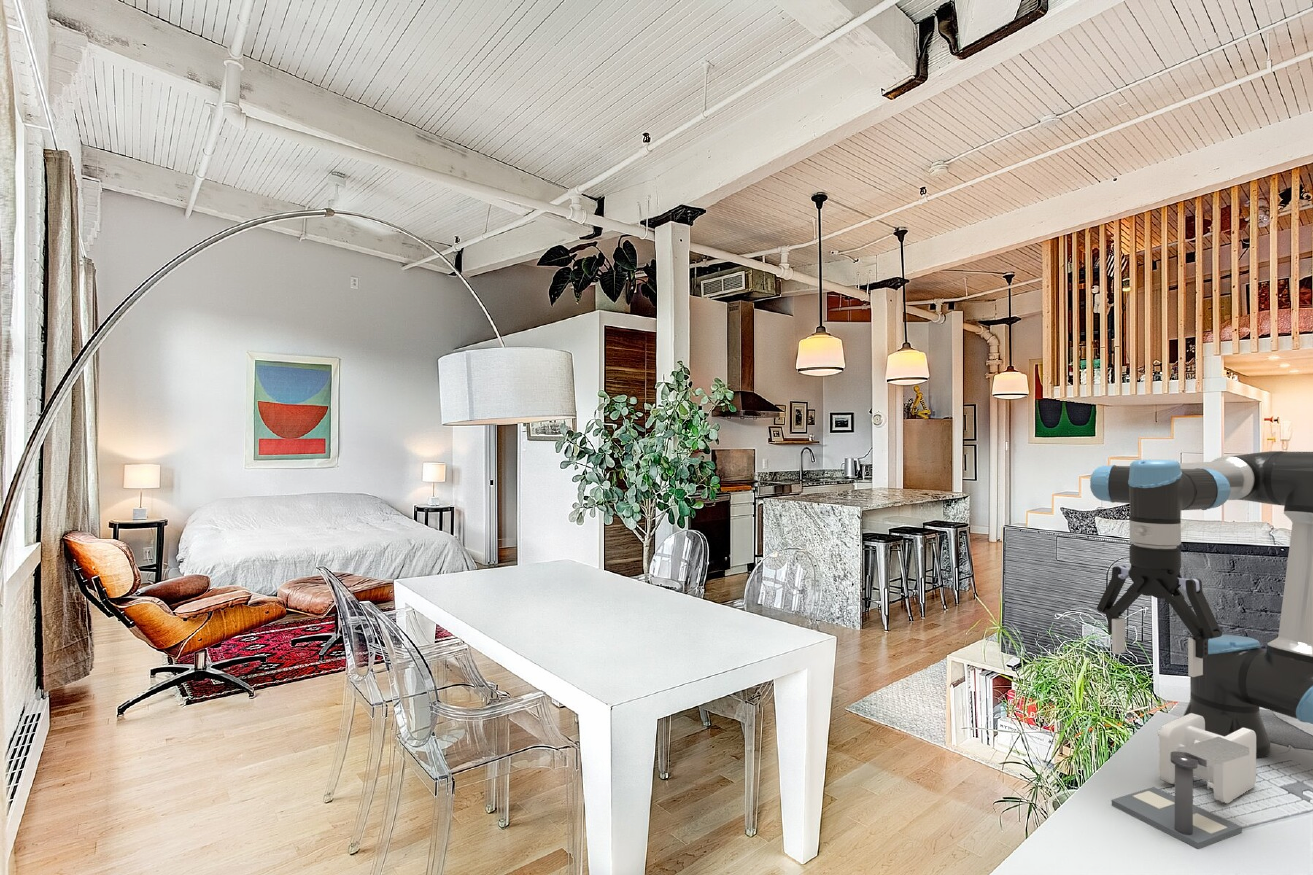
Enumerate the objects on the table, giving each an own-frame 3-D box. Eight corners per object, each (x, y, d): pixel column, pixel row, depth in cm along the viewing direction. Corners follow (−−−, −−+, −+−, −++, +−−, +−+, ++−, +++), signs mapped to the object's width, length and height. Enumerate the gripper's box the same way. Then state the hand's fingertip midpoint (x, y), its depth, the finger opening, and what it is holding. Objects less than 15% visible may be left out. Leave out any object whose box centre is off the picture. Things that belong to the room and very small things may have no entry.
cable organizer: (1222, 810, 121) (1222, 746, 121) (1155, 784, 130) (1155, 724, 130) (1257, 789, 128) (1257, 728, 128) (1191, 765, 137) (1192, 708, 137)
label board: (1153, 791, 127) (1154, 728, 127) (1241, 832, 114) (1242, 761, 114) (1111, 805, 122) (1111, 739, 122) (1198, 848, 109) (1198, 775, 109)
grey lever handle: (1218, 743, 120) (1218, 736, 120) (1249, 754, 116) (1249, 747, 116) (1162, 759, 114) (1162, 752, 114) (1192, 771, 110) (1192, 764, 110)
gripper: (1075, 537, 131) (1076, 646, 132) (1220, 558, 109) (1221, 690, 109) (1101, 534, 134) (1101, 641, 135) (1247, 554, 112) (1248, 683, 112)
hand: (1155, 663), depth 122 cm, fingers open, 12 cm apart
